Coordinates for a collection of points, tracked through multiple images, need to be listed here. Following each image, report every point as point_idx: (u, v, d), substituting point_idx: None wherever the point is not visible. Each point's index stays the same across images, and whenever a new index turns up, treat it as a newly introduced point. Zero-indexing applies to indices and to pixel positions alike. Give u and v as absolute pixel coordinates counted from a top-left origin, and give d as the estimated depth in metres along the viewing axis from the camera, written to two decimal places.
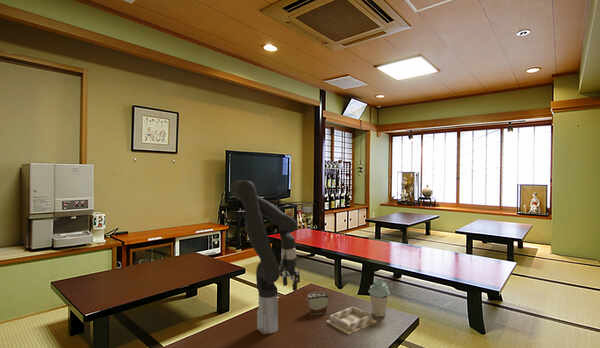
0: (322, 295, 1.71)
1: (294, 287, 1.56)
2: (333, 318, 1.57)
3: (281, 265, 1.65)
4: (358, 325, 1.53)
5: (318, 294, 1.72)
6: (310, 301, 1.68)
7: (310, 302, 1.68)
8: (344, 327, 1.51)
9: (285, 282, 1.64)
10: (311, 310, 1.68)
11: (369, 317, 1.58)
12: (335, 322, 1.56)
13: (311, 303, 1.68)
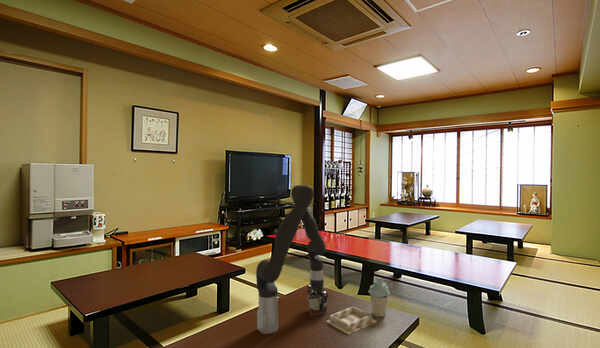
0: None
1: (321, 307, 1.67)
2: (333, 318, 1.57)
3: None
4: (358, 325, 1.53)
5: None
6: (310, 301, 1.68)
7: (310, 302, 1.68)
8: (344, 327, 1.51)
9: None
10: (311, 310, 1.68)
11: (369, 317, 1.58)
12: (335, 322, 1.56)
13: (311, 303, 1.68)
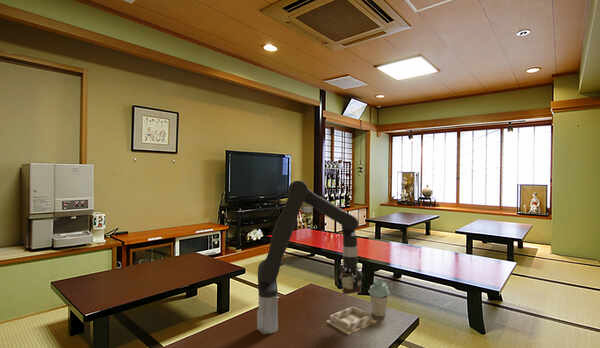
0: None
1: (355, 286, 1.56)
2: (333, 318, 1.57)
3: None
4: (358, 325, 1.53)
5: None
6: (343, 279, 1.56)
7: (343, 280, 1.56)
8: (344, 327, 1.51)
9: None
10: (344, 289, 1.56)
11: (369, 317, 1.58)
12: (335, 322, 1.56)
13: (344, 281, 1.56)
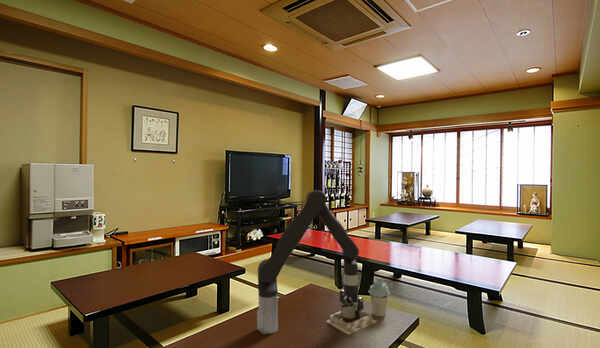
0: None
1: (357, 314, 1.55)
2: (333, 318, 1.57)
3: (341, 290, 1.64)
4: (358, 325, 1.53)
5: None
6: (343, 309, 1.56)
7: (343, 310, 1.56)
8: (344, 327, 1.51)
9: None
10: (344, 319, 1.56)
11: (369, 317, 1.58)
12: (335, 322, 1.56)
13: (344, 311, 1.56)
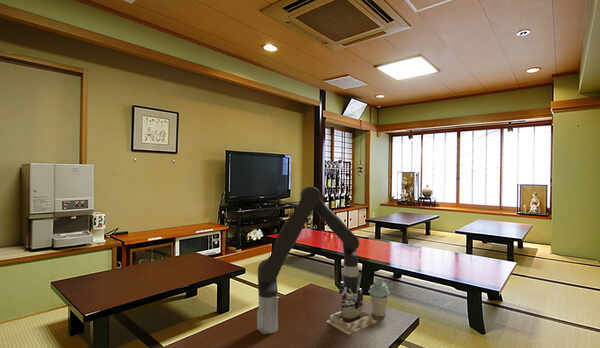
0: None
1: (356, 305, 1.55)
2: (333, 318, 1.57)
3: (341, 282, 1.63)
4: (358, 325, 1.53)
5: (351, 301, 1.60)
6: (343, 309, 1.56)
7: (343, 310, 1.56)
8: (344, 327, 1.51)
9: None
10: (344, 319, 1.56)
11: (369, 317, 1.58)
12: (335, 322, 1.56)
13: (344, 311, 1.56)
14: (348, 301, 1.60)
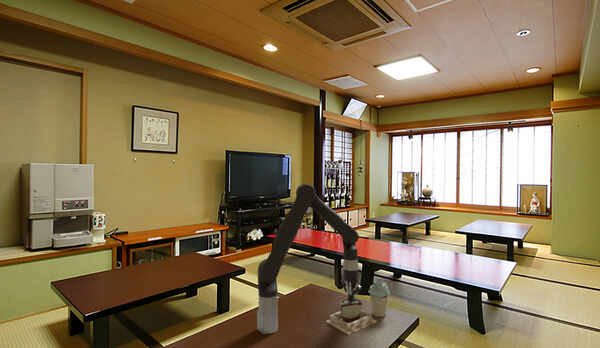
0: (355, 302, 1.60)
1: (351, 298, 1.58)
2: (333, 318, 1.57)
3: None
4: (358, 325, 1.53)
5: None
6: (343, 309, 1.57)
7: (343, 310, 1.57)
8: (344, 327, 1.51)
9: None
10: (344, 318, 1.57)
11: (369, 317, 1.58)
12: (335, 322, 1.56)
13: (343, 311, 1.57)
14: (347, 301, 1.61)
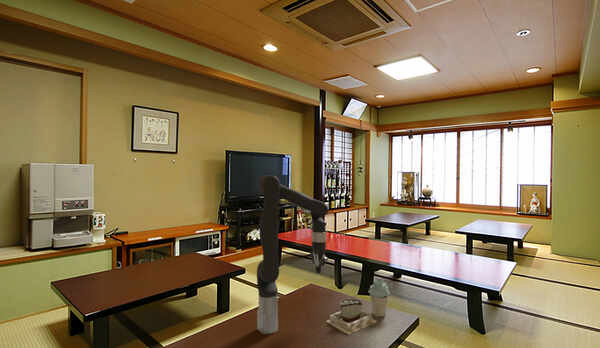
0: (355, 302, 1.60)
1: (318, 270, 1.64)
2: (333, 318, 1.57)
3: (310, 253, 1.69)
4: (358, 325, 1.53)
5: (350, 301, 1.61)
6: (343, 309, 1.57)
7: (343, 310, 1.57)
8: (344, 327, 1.51)
9: None
10: (344, 318, 1.57)
11: (369, 317, 1.58)
12: (335, 322, 1.56)
13: (343, 311, 1.57)
14: (347, 301, 1.61)
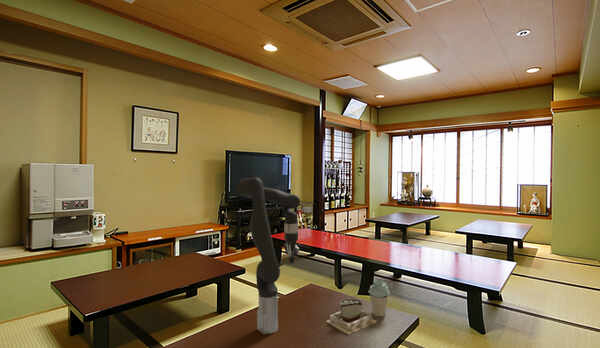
0: (355, 302, 1.60)
1: (291, 260, 1.70)
2: (333, 318, 1.57)
3: (284, 244, 1.75)
4: (358, 325, 1.53)
5: (350, 301, 1.61)
6: (343, 309, 1.57)
7: (343, 310, 1.57)
8: (344, 327, 1.51)
9: None
10: (344, 318, 1.57)
11: (369, 317, 1.58)
12: (335, 322, 1.56)
13: (343, 311, 1.57)
14: (347, 301, 1.61)
